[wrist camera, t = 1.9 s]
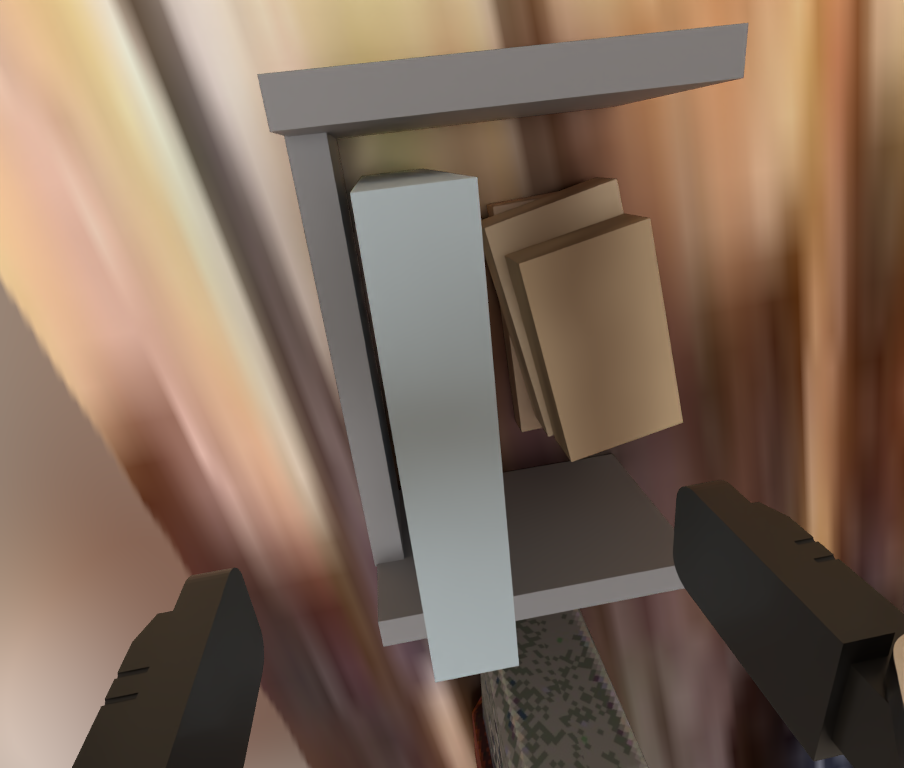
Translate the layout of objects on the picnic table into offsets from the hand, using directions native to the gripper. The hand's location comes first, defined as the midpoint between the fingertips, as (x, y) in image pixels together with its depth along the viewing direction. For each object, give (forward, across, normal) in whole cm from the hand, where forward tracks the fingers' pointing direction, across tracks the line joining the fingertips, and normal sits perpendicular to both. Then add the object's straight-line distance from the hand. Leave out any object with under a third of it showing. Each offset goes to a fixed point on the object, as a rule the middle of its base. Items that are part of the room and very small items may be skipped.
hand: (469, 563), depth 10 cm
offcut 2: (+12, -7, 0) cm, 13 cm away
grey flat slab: (+15, 0, 0) cm, 15 cm away
